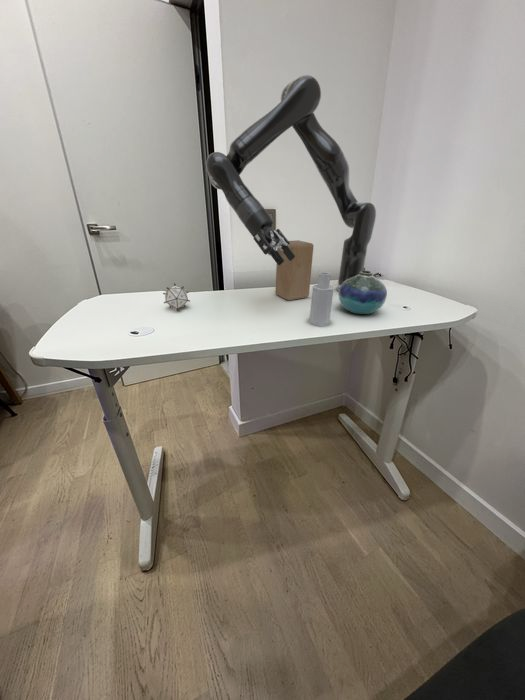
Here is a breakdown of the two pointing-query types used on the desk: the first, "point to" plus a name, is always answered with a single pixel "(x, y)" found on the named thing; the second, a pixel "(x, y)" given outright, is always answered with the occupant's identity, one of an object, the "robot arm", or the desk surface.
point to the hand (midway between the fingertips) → (287, 261)
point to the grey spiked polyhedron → (176, 297)
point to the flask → (321, 300)
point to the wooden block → (295, 271)
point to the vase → (362, 293)
